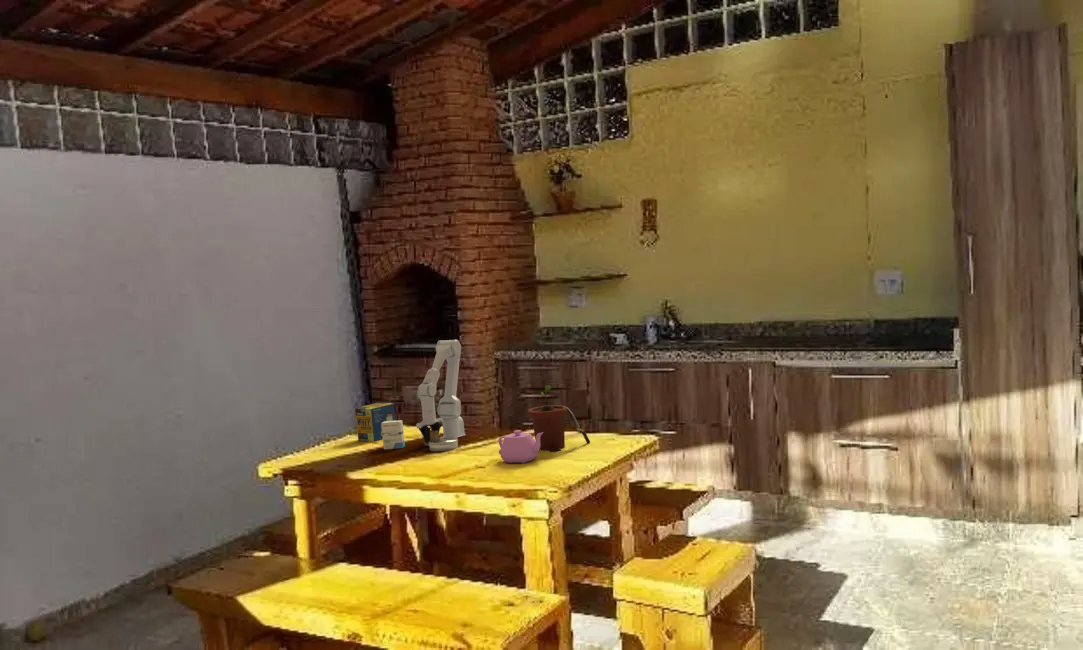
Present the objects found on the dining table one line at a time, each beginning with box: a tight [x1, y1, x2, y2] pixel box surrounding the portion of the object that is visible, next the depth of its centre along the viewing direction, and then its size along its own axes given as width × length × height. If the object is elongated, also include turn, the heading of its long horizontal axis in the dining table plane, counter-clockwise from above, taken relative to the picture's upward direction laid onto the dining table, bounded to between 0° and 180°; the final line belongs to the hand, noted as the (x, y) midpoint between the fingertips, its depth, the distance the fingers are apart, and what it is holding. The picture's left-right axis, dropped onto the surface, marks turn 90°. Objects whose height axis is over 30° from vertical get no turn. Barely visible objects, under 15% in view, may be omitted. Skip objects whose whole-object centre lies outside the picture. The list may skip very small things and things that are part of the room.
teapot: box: [498, 429, 544, 464], centre depth 339 cm, size 20×13×12 cm, turn 65°
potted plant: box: [528, 385, 591, 453], centre depth 359 cm, size 18×22×25 cm
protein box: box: [354, 402, 396, 443], centre depth 413 cm, size 10×15×16 cm
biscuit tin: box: [428, 437, 459, 452], centre depth 377 cm, size 12×12×4 cm
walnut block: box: [423, 429, 440, 447], centre depth 387 cm, size 4×4×6 cm
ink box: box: [381, 419, 406, 450], centre depth 386 cm, size 8×5×12 cm, turn 84°
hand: (431, 441), depth 387 cm, fingers closed on walnut block, 4 cm apart
